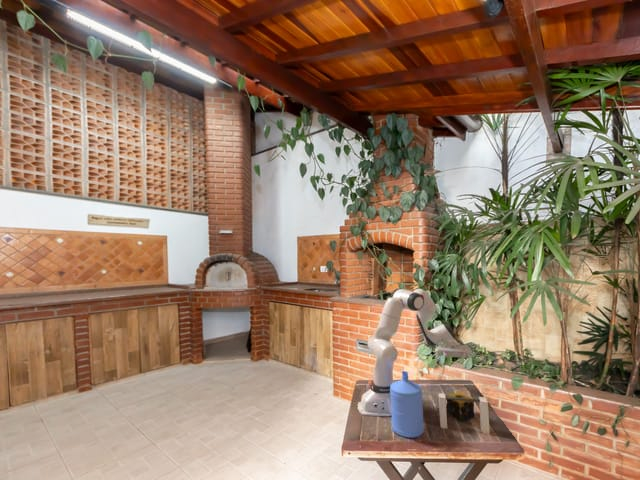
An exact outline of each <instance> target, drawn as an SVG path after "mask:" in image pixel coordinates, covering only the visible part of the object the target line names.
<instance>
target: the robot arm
mask: <svg viewBox="0 0 640 480" xmlns="http://www.w3.org/2000/svg"><path fill="white" fill-rule="evenodd" d="M384 303H385V304H384V306H383V308H382V311H381V315H380V318H379V322H378V325H377V327H376V329H375V331H374V332H373V335H372V336H371V337H369V339H368V340H367V347H368V349H369V351H370V353H371V354H373V355H374V356H375V365H374V367H373V369H372V372H373V374H372V375H373V376H372V377H373V381H371V380H369V381H368V383H367V384H368V386H369V387H370V388H369V389H368V390H367V391H366V392H364V393H363V394H362V395H361V399H360V400H361V401H358V403H357V406H358V407H357V411H358V410H359V411H358V412H359V413H360V415H362V416H371V417H373V416H374V417H390V416H391V395H390V385H391V384H392V383H393V382H394V374H393V373H394V364H395V361H396V360H397V359H398V356H399V351H398V349H397V348H396V347H395V345H394V344H393V343H391V340H392V338H393V336H394V335H395V334H397V332H398V328H399V324H400V322H401V317H402V313H403V310H410V311H414V312H416V311H417V313H416V316H415V317H416V320H417V323H418V326H419V328H420V330H421V332H422V335H423V339H424V342H425V344H426V345H427V346H429V347H433V348H434V351H435V355H436V356H438V357H439V356H440V357H445V358H449V357H451V358H462V359H466V358H473V357H474V353H473V350H472V349H471V347H469V346H468V344H466V343H462V342H458V341H457V340H456V339H457V338H456V334H455V331H454V330H453V328H451V326H450V325H448V324H446V323H442V324H440V325H438V326H436V327H434V328H432V329H430V330H429V329H428V326H427V323H428V322H429V321H430V320H431V319H432V317H434V315H435V314H436V311H437V306H436V304H435V302H434V301H433V299H432V297H431V296H430V294H428V292H426V290H424V289H422V288H416V289H414V290H413V291H412V290H409V289H406V288H405V289H403V288H395V289H394V290H392V292H391V294H390V297H389V298H387V299H386V301H385V302H384ZM441 343H442V344H443V346H438V345H440V344H441ZM391 417H392V416H391Z"/></svg>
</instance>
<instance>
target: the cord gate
mask: <svg viewBox="0 0 640 480" xmlns="http://www.w3.org/2000/svg"><path fill="white" fill-rule="evenodd" d="M446 399H450V400H460V401H470V402H474V403H478V406H479V407H478V408H479V409H478V410H479V421H480V422H479V424H480V425H479V426H480V429H481V431H482V434H486V435H487V434H489V435H490V419H489V418H490V417H489V402H488V400H487V398H486V397H485V396H478V399H474V398H472V399H467V398H457V397H446V394H445V393H442V392H438V408H439V409H438V411H439V424H440V428H442V429H448V420H447V418H448V417H447V415H448V414H447V413H446V406H447V400H446Z"/></svg>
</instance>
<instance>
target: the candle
mask: <svg viewBox="0 0 640 480" xmlns="http://www.w3.org/2000/svg"><path fill="white" fill-rule="evenodd" d="M445 396H446V397H457V398H467V399H473V397H470V396H468V395H466V394H464V393H463V392H461V391H457V392H453V393H449V394H445ZM446 415H449V416H450V417H452V418H453V419H456V420H457V421H458V422H461V423H462V422H465V421H469V420H472V419H475V402H470V401H460V400H450V399H446Z"/></svg>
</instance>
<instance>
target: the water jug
mask: <svg viewBox="0 0 640 480" xmlns="http://www.w3.org/2000/svg"><path fill="white" fill-rule="evenodd" d="M422 391H423V389H422V387H421V385H420V384H419V383H416V382H413V381H412V380H409V371H405V370H404V371H403V370H402V371H401V380H397V381H393V383H392V384H391V385H390V395H391V429H392V430H393V432H394V433H396V434H397V435H399V436H401V437H404V438H410V439H413V438H417V437H420V436H422V435H423V433H424V432H425V425H424V408H423V392H422Z"/></svg>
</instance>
